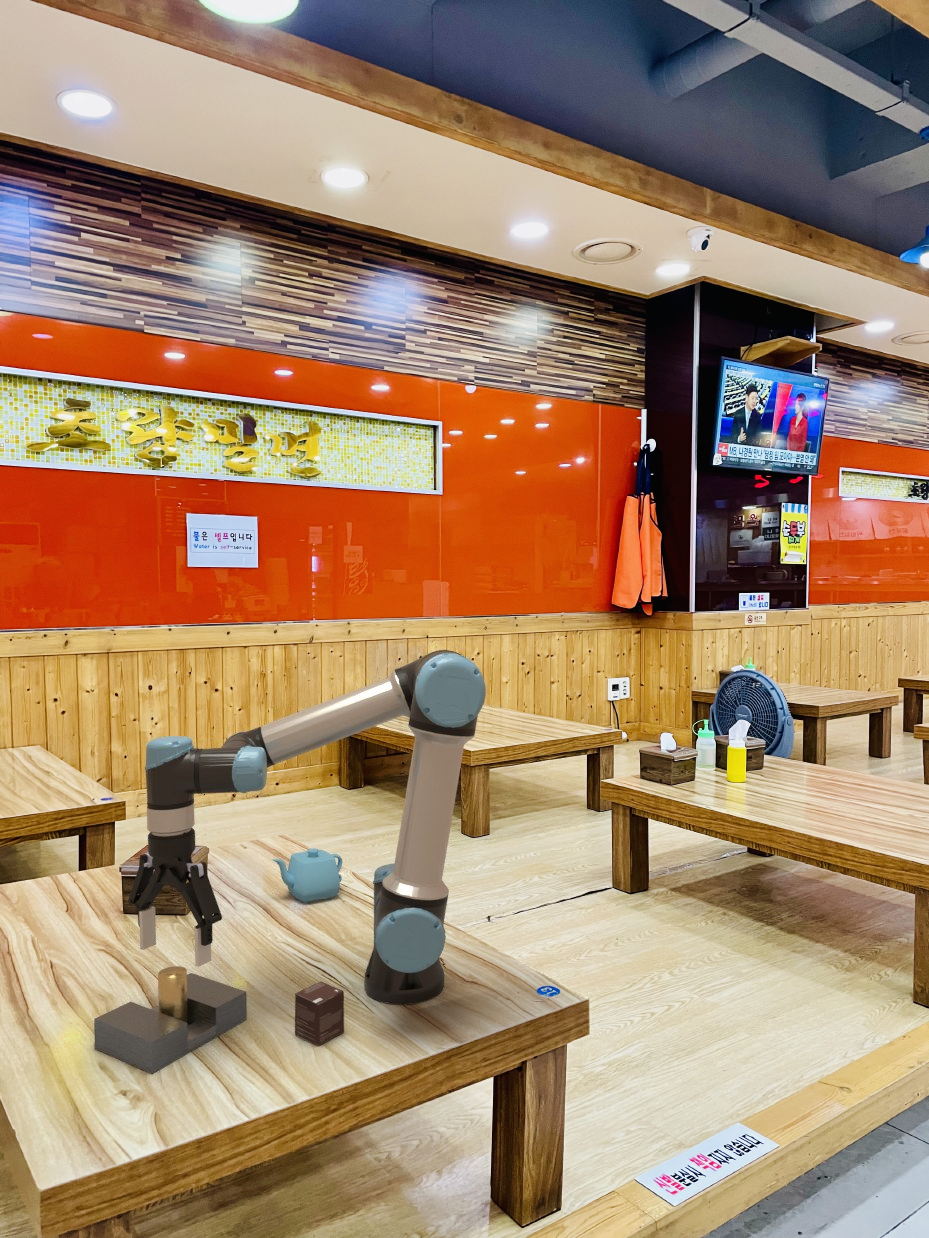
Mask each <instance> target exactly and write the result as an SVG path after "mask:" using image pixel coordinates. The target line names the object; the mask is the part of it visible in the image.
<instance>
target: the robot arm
mask: <svg viewBox="0 0 929 1238" xmlns="http://www.w3.org/2000/svg"><path fill="white" fill-rule="evenodd" d="M486 694H487V688H486V683H485V678H484V676H483V673H482V672H481V670H480V668H479V667H478V666H477V664H476V663H474V662H473V661H472V660H471V659H469V658H468V657H466V656H464V655H462V654H461V653H458V652H456V651H454V650H448V649H439V650H435V651H431V652H430V653H427V654H426V655H424V656H421V657H419V658H418V659H416V660H414V661H411V662H410V663H408V664H405V665H403V666H400V667H398V668H395V669H393V670H392V671H391V673H390V675H389V677H388V678H385V679H382V680H379V681H376V682H374V683H371V684H369V685H365V686H364V687H361V688H358V689H355V690H353V691H352V690H351V691H349V692H348V693H345V694H341V695H340V696H337V697H334V698H331V699H328V700H327V701H323V702H320V703H318V704H316V705H313V706H310V707H307V708H304V709H303V710H301V711H297V712H294V713H292V714H290V715H287V716H284V717H282V718H279V719H275V720H274V721H271V722H269V723H266V724H264V725H260V726H258V727H255V728H253V729H251V730H247V731H240V732H236V733H234V734H232V735H231V736H229V737H228V738H227V739H226V740H225V741H224V743H223V744H222V746H221V747H213V748H210V747H209V748H199V747H198V748H197V747H195V746H194V744H193V740H192V738H191V737H189V736H185V735H183V736H181V735H169V736H162V737H156V738H153V739H151V740H150V741H148V743H146V749H145V750H146V751H145V766H144V770H145V783H146V784H145V785H146V829H147V831H148V832H149V834H147V850H148V851H147V852H145V853H143V854H140V855H139V857H138V859H139V860H138V861H139V862H138V864H139V865H138V869H137V872H136V875H135V879H134V882H133V884H132V888H131V890H130V894H129V897H128V899H127V900H128V901H127V902H128V905H131V906H132V905H133V906H135V909H136V910H137V923H138V928H139V946H140V947H139V949H140V950H143V951H144V950H147V949H148V948H151V947H154V946H156V945H157V928H156V927H157V925H156V924H157V923H156V907H155V906H154V905H155V903H154V901H155V900H156V898H157V897H158V895H159V894H160V892H161V890H162V888H163V887H164V886H168V887H171V888H175V890H176V892H177V893H179V894H181V896H182V897H183V899H184V901H185V903H186V905H187V906H188V909H189V910H190V912H191V914H192V916H193V918H194V920H195V922H196V923H197V924H196V925H195V926H194V928H193V929H194V931H193V933H194V959H195V961H194V962H195V963H194V964H195V967H197V968H200V967H201V966H203V965H205V964H208V963H209V962H211V961H212V944H213V940H214V939H213V938H214V937H213V934H214V933H213V925H214V924H216V923H218V922H220V921H222V919H223V916H222V913H221V909H220V907H219V904H218V901H217V898H216V896H215V893H214V890H213V887H212V885H211V881H210V879H209V876H208V868H207V867H208V866H207V864H206V862H205V861H201V862H198V863H194V862H193V859H192V855H193V854H194V853H193V852H194V851H195V850H196V830H195V829H194V828H193V827H195V823H196V822H195V821H196V820H195V795H196V794H197V795H202V794H226V793H228V794H230V793H234V794H235V793H240V794H241V793H242V794H245V793H246V794H247V793H250V792H251V793H252V792H259V791H262V790H263V789H264V788H265V787H266V784H267V779H268V777H267V775H268V768H270V767H273V766H275V765H277V764H279V763H282V762H283V761H284V762H285V761H287V760H290V759H292V758H295V757H298V756H300V755H302V754H305V753H308V752H311V751H314V750H316V749H319V748H321V747H324V746H327V745H330V744H333V743H335V742H337V741H340V740H342V739H346V738H347V737H348V738H349V737H351V736H353V735H356V734H359V733H361V732H364V731H366V730H369V729H372V728H374V727H377V726H379V725H382V724H384V723H388V722H390V721H393V720H395V719H398V718H400V717H407V718H409V719H408V725H407V726H408V728H409V730H410V731H411V733H413V735H414V741H413V747H412V748H413V749H412V755H411V760H410V761H411V762H410V765H409V766H410V767H409V773H408V774H409V775H408V778H407V784H406V785H407V786H406V791H405V795H404V796H405V797H404V803H403V809H402V815H401V821H400V829H399V835H398V840H397V847H396V853H395V860H394V863H388V864H383V865H381V866H378V867H377V868H376V869H375V870H374V874H373V880H372V885H373V949H372V952H371V954H370V956H369V957H370V958H369V961H368V964H367V967H366V970H365V973H364V978H363V979H364V982H363V983H364V987H363V988H364V991H365V993H366V994H367V995H368V997H370V998H372V999H374V1000H375V1001H379V1002H381V1003H386V1004H391V1005H414V1004H420V1003H424V1002H427V1001H430V1000H432V999H434V998H436V997H437V996H439V995H440V994H441V993H442V992H443V991H444V989H445V970H444V969H443V967H442V963H441V959H440V957H441V955H442V953H443V951H444V948H445V943H446V940H447V939H446V937H447V936H446V929H445V926H444V924H445V918H446V911H447V906H448V898H449V893H450V891H449V890H450V889H449V887H448V886H447V884H446V883H445V882H444V881H443V877H444V869H445V864H446V859H447V858H446V857H447V850H448V845H449V838H450V833H451V828H452V827H451V826H452V821H453V815H454V808H455V801H456V797H457V791H458V784H459V777H460V772H461V767H462V761H463V760H462V759H463V754H464V748H465V745H466V743H468V742H470V741H471V740H472V739H473V738H474V737H475V735H476V729H477V724H478V718H479V717H478V716H479V714H480V712H481V710H482V709H483V706H484V704H485V701H486Z"/></svg>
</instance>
